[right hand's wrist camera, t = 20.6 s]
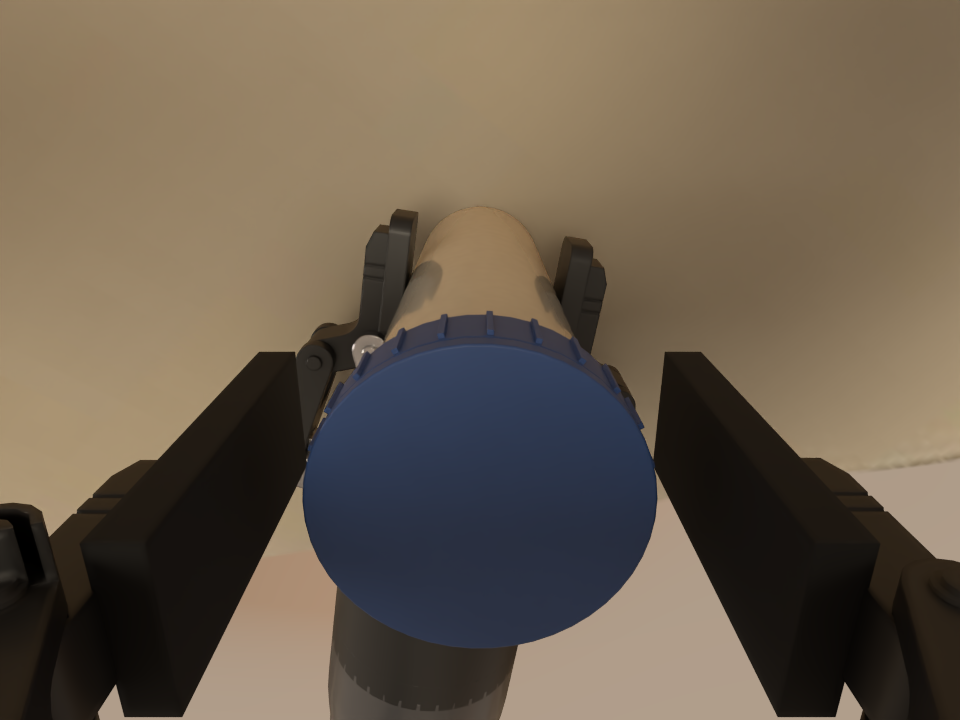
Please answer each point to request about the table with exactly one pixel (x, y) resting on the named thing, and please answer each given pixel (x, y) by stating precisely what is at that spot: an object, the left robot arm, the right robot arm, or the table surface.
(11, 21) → the table surface
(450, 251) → the jar
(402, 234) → the left robot arm
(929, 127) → the table surface
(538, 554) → the lid
